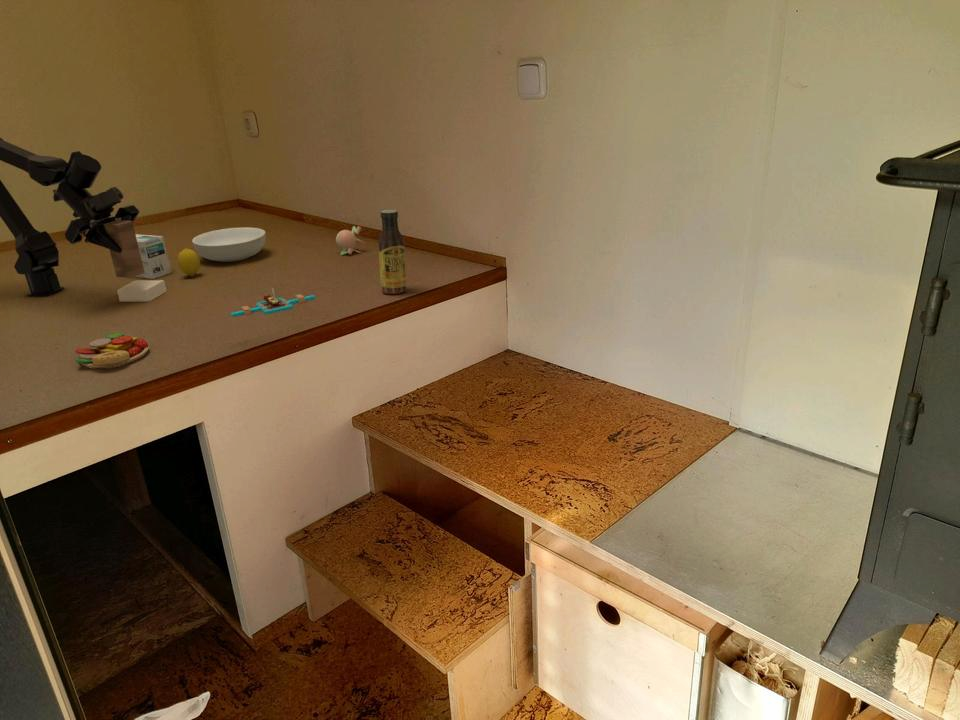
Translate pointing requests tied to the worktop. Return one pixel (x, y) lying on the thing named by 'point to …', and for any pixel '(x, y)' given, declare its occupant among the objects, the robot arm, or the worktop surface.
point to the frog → (348, 240)
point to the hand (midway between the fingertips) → (128, 249)
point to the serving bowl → (230, 243)
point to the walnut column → (125, 249)
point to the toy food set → (112, 351)
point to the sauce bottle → (391, 254)
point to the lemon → (188, 262)
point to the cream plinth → (142, 290)
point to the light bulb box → (153, 256)
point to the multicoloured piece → (273, 304)
